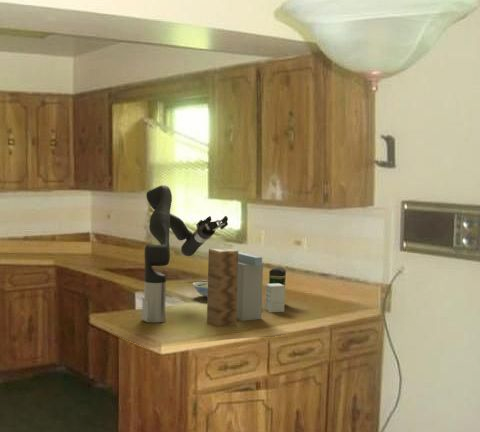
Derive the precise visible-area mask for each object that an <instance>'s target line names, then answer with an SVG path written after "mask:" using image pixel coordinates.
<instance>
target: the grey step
mask: <svg viewBox="0 0 480 432" xmlns="http://www.w3.org/2000/svg"><path fill="white" fill-rule="evenodd" d="M263 274H264V263H262V265H258V266H254V265H251V264H247V263H243V262H239V261H238V279H237V315H236V320H239V321H243V322H244V321H253V320H261V319H262V309H263V307H262V306H263V277H264V276H263Z"/></svg>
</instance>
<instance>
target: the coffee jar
mask: <svg viewBox="0 0 480 432" xmlns="http://www.w3.org/2000/svg"><path fill="white" fill-rule="evenodd" d="M268 272H269V273H268V284H276V283H280V284H282V285H284V286H285V287H286V274H287V273H286V272H287V271H286V269H285V268H284V267H280V266H279V267H273V268H272V269H269V271H268Z"/></svg>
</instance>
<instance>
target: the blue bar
mask: <svg viewBox="0 0 480 432" xmlns="http://www.w3.org/2000/svg"><path fill="white" fill-rule="evenodd" d="M238 261H239V262H243V263H247V264H251V265H254V266H258V265H262V264H263V257H262V256H257V255H253V254H250V253H245V252H241V251H238Z"/></svg>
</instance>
